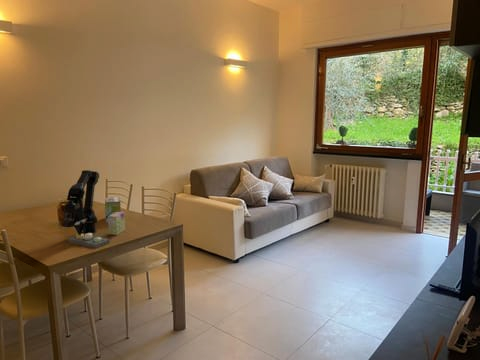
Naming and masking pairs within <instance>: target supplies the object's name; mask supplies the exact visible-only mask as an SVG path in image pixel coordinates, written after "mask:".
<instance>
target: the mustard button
mask: <svg viewBox="0 0 480 360" xmlns="http://www.w3.org/2000/svg"><path fill="white" fill-rule="evenodd" d="M84 234H85V233H81V235H79V234H78V233H76V234H75V236H76V238H77V239H81V238H84Z"/></svg>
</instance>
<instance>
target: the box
mask: <svg viewBox="0 0 480 360" xmlns="http://www.w3.org/2000/svg"><path fill="white" fill-rule="evenodd" d="M107 224H108V226H107V227H108V235H110V236H111V235H113V236H117V235H119V234H121V233H122V232H124V231H126V221H125V212H124V211H121V212H115V213H113V214H111V215H109V216H108V223H107Z"/></svg>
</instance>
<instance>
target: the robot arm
mask: <svg viewBox="0 0 480 360" xmlns="http://www.w3.org/2000/svg"><path fill="white" fill-rule="evenodd" d="M99 179H100V173H99V172H98V171H95V170H94V171H92V170H88V169H85V170H81V174H80V176H79V178H78V180H77V181H76V183H75V184H73V185H72V186H71V187H70V188H69V190H68V193H67V198H66V201H67V203H66V204H65V206H64V210H65V212H64V213H63V215H62V218H63V219H64V220H63V221H62V222H61V227H64V228H72V227H74V229H75V231H76V232H77V234H79V235H81V234H86V233H92V234H94V233H97V232H98V230H96V225H95V224H97V223H98V217H97V216H96V214H95V210H94V209H93V207H94V206H93V205H94V197H95V196H94V195H95V194H94V193H95V186H96V185H97V184H98V183H99ZM85 187H86V188H85ZM83 200H84V201H83Z"/></svg>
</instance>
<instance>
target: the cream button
mask: <svg viewBox="0 0 480 360" xmlns="http://www.w3.org/2000/svg"><path fill="white" fill-rule="evenodd" d="M83 234H84V238H85V240H92V239H93V238H92V236H93V233H86V234H85V233H83Z"/></svg>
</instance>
